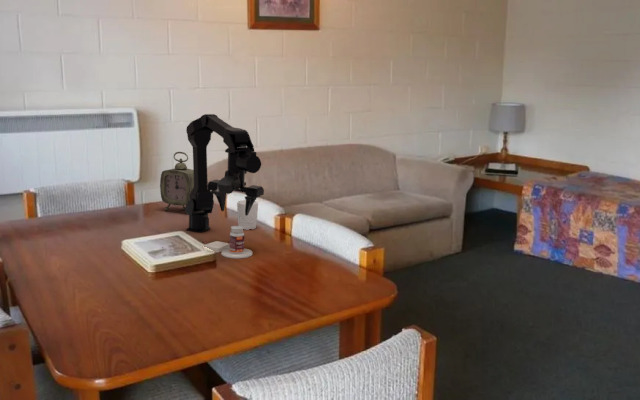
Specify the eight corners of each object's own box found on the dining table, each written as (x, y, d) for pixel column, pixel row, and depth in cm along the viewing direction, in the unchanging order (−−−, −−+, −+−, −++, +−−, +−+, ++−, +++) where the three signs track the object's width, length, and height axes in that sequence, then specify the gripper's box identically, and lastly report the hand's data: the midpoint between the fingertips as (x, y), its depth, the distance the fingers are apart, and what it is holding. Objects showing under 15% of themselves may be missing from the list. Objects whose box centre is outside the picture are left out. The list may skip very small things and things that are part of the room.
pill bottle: (237, 255, 194) (238, 229, 192) (226, 252, 197) (226, 227, 195) (247, 251, 198) (247, 227, 196) (235, 249, 200) (236, 224, 199)
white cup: (259, 226, 235) (260, 200, 233) (255, 231, 227) (255, 205, 225) (239, 224, 235) (239, 199, 233) (234, 229, 228) (235, 203, 226)
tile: (216, 245, 207) (203, 250, 201) (216, 240, 207) (203, 245, 200) (230, 248, 204) (217, 253, 198) (230, 243, 204) (217, 248, 198)
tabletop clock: (160, 211, 251) (159, 151, 246) (173, 207, 259) (173, 149, 254) (189, 215, 246) (190, 154, 241) (202, 211, 254) (202, 152, 249)
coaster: (215, 255, 195) (215, 253, 194) (230, 247, 204) (230, 246, 204) (243, 260, 191) (243, 258, 191) (257, 252, 200) (257, 250, 200)
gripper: (198, 167, 197) (197, 213, 201) (249, 175, 191) (247, 222, 194) (216, 163, 207) (215, 207, 211) (265, 170, 201) (263, 215, 204)
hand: (234, 213), depth 205 cm, fingers open, 9 cm apart
